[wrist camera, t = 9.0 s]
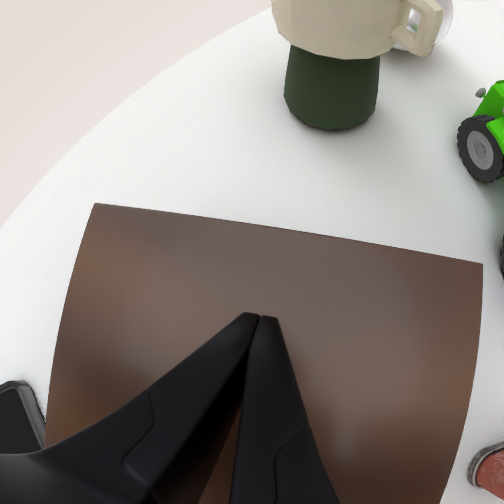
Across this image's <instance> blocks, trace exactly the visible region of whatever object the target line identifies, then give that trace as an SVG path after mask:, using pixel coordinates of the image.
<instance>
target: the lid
mask: <svg viewBox="0 0 504 504" xmlns="http://www.w3.org/2000/svg"><path fill="white" fill-rule="evenodd" d="M482 287H483V264H481V263H476V262H471V261H466V260H461V259H456V258H450V257H445V256H440V255H435V254H429V253H424V252H419V251H413V250H408V249H402V248H397V247H391V246H385V245H380V244H374V243H368V242H362V241H357V240H351V239H345V238H339V237H333V236H327V235H321V234H315V233H308V232H302V231H296V230H289V229H283V228H277V227H270V226H263V225H257V224H250V223H243V222H237V221H230V220H223V219H216V218H209V217H202V216H194V215H187V214H180V213H172V212H165V211H157V210H149V209H141V208H133V207H125V206H117V205H109V204H100V203H94V206H93V208H92V211H91V214H90V217H89V220H88V223H87V226H86V229H85V232H84V235H83V238H82V241H81V245H80V248H79V251H78V254H77V258H76V261H75V265H74V268H73V272H72V276H71V280H70V283H69V287H68V291H67V295H66V299H65V304H64V308H63V312H62V317H61V322H60V326H59V331H58V336H57V342H56V347H55V353H54V359H53V365H52V372H51V379H50V386H49V394H48V403H47V413H46V425H45V441H44V449H45V448H48V447H50V446H52V445H54V444H56V443H58V442H60V441H62V440H64V439H66V438H68V437H70V436H72V435H73V434H75V433H77V432H79V431H81V430H83V429H85V428H86V427H88V426H90V425H92V424H94V423H95V422H97V421H99V420H101V419H102V418H104V417H106V416H107V415H109V414H111V413H112V412H114V411H116V410H117V409H119V408H120V407H121V406H123V405H124V404H126V403H127V402H129V401H130V400H131V399H133V398H134V397H136V396H137V395H138V394H140V393H141V392H142V391H144V390H145V389H148V387H149V386H150V385H152V384H153V383H154V382H156V381H157V380H158V379H160V378H161V377H162V376H163V375H165V374H166V373H167V372H169V371H170V370H171V369H172V368H174V367H175V366H176V365H178V364H179V363H180V362H181V361H183V360H184V359H185V358H187V357H188V356H189V355H190V354H192V353H193V352H194V351H195V350H197V349H198V348H199V347H200V346H202V345H203V344H204V343H205V342H207V341H208V340H209V339H211V338H212V337H213V336H214V335H215V334H217V333H218V332H219V331H220V330H222V329H223V328H224V327H225V326H227V325H228V324H229V323H230V322H232V321H233V320H234V319H235V318H236V317H238V316H239V315H240V314H241V313H243V312H250V313H256V314H259V315H260V317H261V316H262V315H267V316H272V317H276V318H277V319H278V321H279V324H280V327H281V330H282V334H283V337H284V340H285V344H286V347H287V350H288V353H289V357H290V360H291V363H292V367H293V370H294V373H295V377H296V380H297V383H298V387H299V390H300V393H301V397H302V400H303V403H304V407H305V410H306V413H307V417H308V420H309V423H310V425H309V427H311V429H312V433H313V436H314V439H315V442H316V445H317V448H318V451H319V454H320V457H321V460H322V463H323V465H324V467H325V470H326V472H327V474H328V477H329V479H330V481H331V483H332V486H333V488H334V490H335V492H336V494H337V496H338V498H339V500H340V502H341V504H439V503H440V500H441V498H442V495H443V493H444V490H445V487H446V484H447V482H448V479H449V476H450V473H451V470H452V467H453V464H454V460H455V457H456V454H457V450H458V447H459V443H460V440H461V436H462V432H463V428H464V424H465V420H466V416H467V411H468V407H469V402H470V397H471V392H472V386H473V380H474V374H475V368H476V361H477V353H478V345H479V335H480V324H481V310H482ZM241 406H242V403H241ZM241 406H240V408H239V411H238V413H237V416H236V418H235V421H234V423H233V425H232V428H231V430H230V432H229V435H228V437H227V440H226V442H225V444H224V447H223V449H222V451H221V454H220V456H219V458H218V460H217V463H216V465H215V467H214V470H213V472H212V474H211V476H210V479H209V481H208V483H207V485H206V488H205V490H204V492H203V494H202V496H201V499H200V501H199V503H198V504H229V499H230V491H231V483H232V476H233V468H234V461H235V453H236V445H237V437H238V429H239V422H240V414H241Z"/></svg>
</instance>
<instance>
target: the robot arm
mask: <svg viewBox="0 0 504 504" xmlns="http://www.w3.org/2000/svg"><path fill="white" fill-rule="evenodd" d="M241 403H242V406H241ZM240 406H241V414H240V422H239V429H238V437H237V445H236V453H235V461H234V468H233V476H232V483H231V491H230V499H229V504H341V502H340V500H339V498H338V496H337V494H336V492H335V490H334V488H333V486H332V483H331V481H330V479H329V477H328V474H327V472H326V470H325V467H324V465H323V463H322V460H321V457H320V454H319V451H318V448H317V445H316V442H315V439H314V436H313V433H312V429H311V427H309V425H310V423H309V420H308V417H307V413H306V410H305V407H304V403H303V400H302V397H301V393H300V390H299V387H298V383H297V380H296V377H295V373H294V370H293V367H292V363H291V360H290V357H289V353H288V350H287V347H286V344H285V340H284V337H283V334H282V330H281V327H280V324H279V321H278V319H277V318H276V317H272V316H267V315H262V316H261V317H260V315H259V314H256V313H250V312H243V313H241V314H240V315H239V316H238V317H236V318H235V319H234V320H233V321H232V322H230V323H229V324H228V325H227V326H225V327H224V328H223V329H222V330H220V331H219V332H218V333H217V334H215V335H214V336H213V337H212V338H211V339H209V340H208V341H207V342H205V343H204V344H203V345H202V346H200V347H199V348H198V349H197V350H195V351H194V352H193V353H192V354H190V355H189V356H188V357H187V358H185V359H184V360H183V361H181V362H180V363H179V364H178V365H176V366H175V367H174V368H172V369H171V370H170V371H169V372H167V373H166V374H165V375H163V376H162V377H161V378H160V379H158V380H157V381H156V382H154V383H153V384H152V385H150V386H149V387H148V389H145V390H144V391H142V392H141V393H140V394H138V395H137V396H136V397H134V398H133V399H131V400H130V401H129V402H127V403H126V404H124V405H123V406H121V407H120V408H119V409H117V410H116V411H114V412H112V413H111V414H109V415H107V416H106V417H104V418H102V419H101V420H99V421H97V422H95V423H94V424H92V425H90V426H88V427H86V428H85V429H83V430H81V431H79V432H77V433H75V434H73V435H72V436H70V437H68V438H66V439H64V440H62V441H60V442H58V443H56V444H54V445H52V446H50V447H48V448H45V449H43V450H40V451H36V452H32V453H26V454H0V504H198V503H199V501H200V499H201V496H202V494H203V492H204V490H205V488H206V485H207V483H208V481H209V479H210V476H211V474H212V472H213V470H214V467H215V465H216V463H217V460H218V458H219V456H220V454H221V451H222V449H223V447H224V444H225V442H226V440H227V437H228V435H229V432H230V430H231V428H232V425H233V423H234V421H235V418H236V416H237V413H238V411H239V408H240Z"/></svg>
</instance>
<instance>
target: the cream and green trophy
mask: <svg viewBox="0 0 504 504" xmlns="http://www.w3.org/2000/svg"><path fill="white" fill-rule="evenodd" d="M271 3H272V13H273V16H274V19H275V22H276V25H277V28H278V32H279V33H280V34H281V35H282V36H283V37H284V38H285V39H286V40H288V41H289V42H290V43H291V48H290V54H289V60H288V66H287V72H286V78H285V88H284V98H285V100H286V103H287V105H288V107H289V110H290V112H291V113H293V114H294V115H295V116H297V117H298V118H299V119H300V120H302V121H303V122H304V123H305V124H309V125H312V126H316V127H320V128H323V129H344V128H351V127H353V126H356V125H358V124H360V123H363V122H365V121H367V120H368V118H369V117H370V116H371V115H372V114H373V112H374V110H375V104H376V98H377V92H378V81H379V66H380V55H381V54H384V53H387V52H388V51H389V50H390V49H391V48H392V47H393V46H394V45H395V44H396V43H398V44H399V45H401V46H402V47H404V48H405V49H407V50H408V51H410V52H411V53H413V54H415V55H418V56H421V57H425V58H426V57H427V56H428V55H429V54H430V53H431V52H432V49H433V46H434V43H435V41H436V38H437V35H438V32H439V29H440V27H441V24H442V21H443V8H442V7H441V6H440V5H439V4H438V3H437V2H436V1H434V0H271ZM411 8H413V9H414V10H416V11H418V12H419V13H420V14H421V20H420V23H419V26H418V30H417V33H416V34H414V33H413V32H411V31H410V30H408V29H406V27H407V23H408V20H409V16H410V12H411Z"/></svg>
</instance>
